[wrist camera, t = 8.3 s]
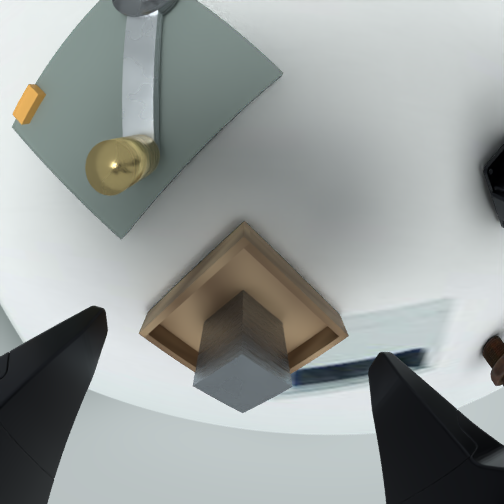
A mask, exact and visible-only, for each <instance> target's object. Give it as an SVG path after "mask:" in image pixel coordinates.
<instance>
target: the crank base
mask: <svg viewBox="0 0 504 504" xmlns="http://www.w3.org/2000/svg"><path fill="white" fill-rule="evenodd" d="M126 21H127V17H126V16H124V15H123V14H122V13H120V12H119V11H118V10H116V9H115V7H114V6H113V3H112V0H100V1H99V2H98V3H97V4H96V5H95V6H94V7H93V8H92V9H91V10H90V11H89V13H88V14H87V15H86V16H85V17H84V18H83V19H82V20H81V22H80V23H79V24H78V25H77V26H76V28H75V29H74V30H73V31H72V32H71V34H70V35H69V36H68V38H67V39H66V40H65V41H64V43H63V44H62V45H61V47H60V48H59V49H58V51H57V52H56V54H55V55H54V56H53V58H52V59H51V61H50V62H49V64H48V65H47V66H46V68H45V70H44V71H43V73H42V74H41V76H40V77H39V79H38V80H37V82H36V84H29V85H28V86H27V88H26V90H25V91H24V93H23V95H22V97H21V99H20V101H19V102H18V104H17V106H16V108H15V110H14V112H13V115H14V117H15V118H16V120H15V122H14V124H13V126H12V128H13V129H14V130H15V131H16V132H17V134H18V135H19V136H20V137H21V138H22V139H23V141H24V142H25V143H26V144H27V145H28V146H29V147H30V149H31V150H32V151H33V152H34V153H35V154H36V155H37V156H38V157H39V159H40V160H41V161H42V162H43V163H44V164H45V165H46V166H47V167H48V168H49V169H50V170H51V171H52V173H53V174H54V175H55V176H56V177H57V178H58V179H59V180H60V181H61V182H62V183H63V184H64V185H65V186H66V187H67V188H68V189H69V190H70V191H71V192H72V193H73V194H74V195H75V196H76V197H77V198H78V199H79V200H80V201H81V202H82V203H83V204H84V205H85V206H86V207H87V208H88V209H89V210H90V211H91V212H92V213H93V214H94V215H95V216H96V217H97V218H98V219H100V220H101V221H102V222H103V223H104V224H105V225H106V226H107V227H108V228H109V229H110V230H111V231H112V232H113V233H115V234H116V235H117V236H118V237H119V238H120V239H122V238H123V237H124V236H125V235H126V234H127V233H128V232H129V230H130V229H131V228H132V227H133V225H134V224H135V223H136V222H137V221H138V219H139V218H140V217H141V216H142V214H143V213H144V212H145V211H146V210H147V208H148V207H149V206H150V205H151V204H152V203H153V201H154V200H155V199H156V198H157V197H158V196H159V195H160V193H161V192H162V191H163V190H164V189H165V188H166V187H167V185H168V184H169V183H170V182H171V181H172V180H173V179H174V178H175V177H176V176H177V174H178V173H179V172H180V171H181V170H182V169H183V168H184V167H185V166H186V165H187V164H188V163H189V162H190V161H191V159H192V158H193V157H194V156H195V155H196V154H197V153H198V152H199V151H200V150H201V149H202V148H203V147H204V146H205V145H206V144H207V143H208V142H209V141H210V140H211V139H212V138H213V137H214V136H215V135H216V134H217V133H218V132H219V131H220V130H221V129H222V128H223V127H224V126H225V125H226V124H228V123H229V122H230V121H231V120H232V119H233V118H234V117H235V116H236V115H237V114H238V113H239V112H240V111H241V110H243V109H244V108H245V107H246V106H247V105H248V104H249V103H250V102H251V101H253V100H254V99H255V98H256V97H257V96H258V95H259V94H260V93H262V92H263V91H264V90H265V89H266V88H267V87H269V86H270V85H271V84H272V83H273V82H275V81H276V80H277V79H278V78H279V77H281V76H282V74H283V72H282V71H281V70H280V69H278V68H277V67H276V66H275V65H274V64H273V63H272V62H271V61H270V60H269V59H268V58H267V57H266V56H265V55H264V54H263V53H261V52H260V51H259V50H258V49H257V48H256V47H255V46H254V45H252V44H251V43H250V42H249V41H248V40H247V39H246V38H244V37H243V36H242V35H241V34H240V33H238V32H237V31H236V30H235V29H234V28H232V27H231V26H230V25H229V24H227V23H226V22H225V21H224V20H222V19H221V18H220V17H218V16H217V15H216V14H215V13H213V12H212V11H211V10H209V9H208V8H207V7H205V6H204V5H202V4H201V3H200V2H198V1H197V0H178V1H177V3H176V4H175V5H174V7H173V8H172V9H171V10H170V11H168V12H167V13H166V14H164V15H163V20H162V33H161V48H160V71H159V146H160V158H159V163H158V166H157V167H156V169H155V170H154V172H153V173H151V174H150V175H148V176H147V177H145V178H143V179H142V180H140V181H139V182H137V183H135V184H134V185H132V186H131V187H129V188H127V189H126V190H124V191H123V192H121V193H119V194H117V195H113V196H107V195H103V194H100V193H99V192H97V191H96V190H95V189H94V188H93V187H92V186H91V185H90V183H89V181H88V179H87V176H86V171H85V165H86V159H87V156H88V154H89V152H90V151H91V149H92V148H93V147H94V146H95V145H96V144H98V143H100V142H102V141H105V140H110V139H115V138H120V137H123V129H122V78H123V56H124V42H125V31H126Z"/></svg>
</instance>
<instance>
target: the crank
mask: <svg viewBox="0 0 504 504" xmlns="http://www.w3.org/2000/svg"><path fill="white" fill-rule="evenodd" d="M177 1H178V0H112V3H113V6H114V7H115V9H116V10H118V11H119V12H120V13H122V14H123V15H124V16H126V17H127V21H126V31H125V42H124V56H123V78H122V129H123V137H120V138H115V139H110V140H105V141H102V142H100V143H98V144H96V145H95V146H94V147H93V148H92V149H91V151H90V152H89V154H88V156H87V159H86V165H85V171H86V176H87V179H88V181H89V183H90V185H91V186H92V187H93V188H94V189H95V190H96V191H97V192H99V193H100V194H103V195H107V196H113V195H117V194H119V193H121V192H123V191H124V190H126V189H127V188H129V187H131V186H132V185H134V184H135V183H137V182H139V181H140V180H142V179H143V178H145V177H147V176H148V175H150V174H151V173H153V172H154V170H155V169H156V167H157V166H158V163H159V158H160V146H159V71H160V48H161V33H162V20H163V15H164V14H166V13H167V12H168V11H170V10H171V9H172V8H173V7H174V5H175V4H176V3H177Z"/></svg>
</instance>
